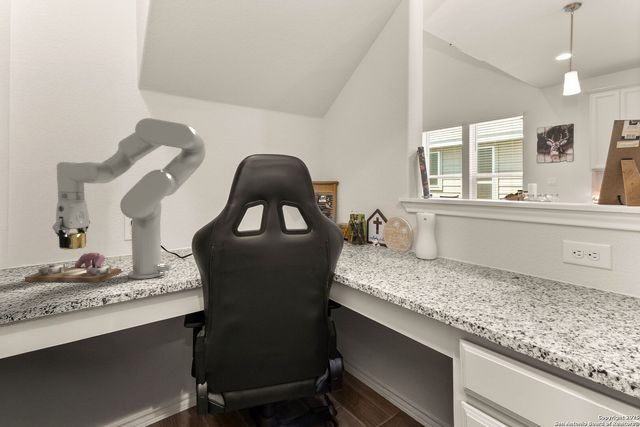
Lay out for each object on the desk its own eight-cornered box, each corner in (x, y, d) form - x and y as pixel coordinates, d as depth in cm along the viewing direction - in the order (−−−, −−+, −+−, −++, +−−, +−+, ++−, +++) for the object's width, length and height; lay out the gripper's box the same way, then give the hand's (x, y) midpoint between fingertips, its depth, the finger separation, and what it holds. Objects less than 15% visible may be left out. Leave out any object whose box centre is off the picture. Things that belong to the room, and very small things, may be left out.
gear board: (121, 272, 122) (120, 256, 122) (100, 282, 111) (99, 263, 110) (53, 271, 122) (52, 255, 122) (25, 281, 110) (23, 262, 110)
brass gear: (90, 245, 119) (90, 232, 119) (75, 249, 112) (75, 235, 111) (70, 245, 119) (70, 231, 118) (54, 249, 112) (54, 234, 111)
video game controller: (103, 270, 130) (108, 254, 133) (95, 268, 126) (100, 251, 128) (81, 269, 131) (86, 253, 134) (72, 267, 127) (78, 250, 129)
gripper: (62, 198, 105) (64, 250, 107) (98, 196, 122) (100, 241, 124) (39, 197, 105) (42, 250, 107) (79, 195, 122) (80, 241, 124)
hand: (73, 245), depth 115 cm, fingers closed on brass gear, 7 cm apart
